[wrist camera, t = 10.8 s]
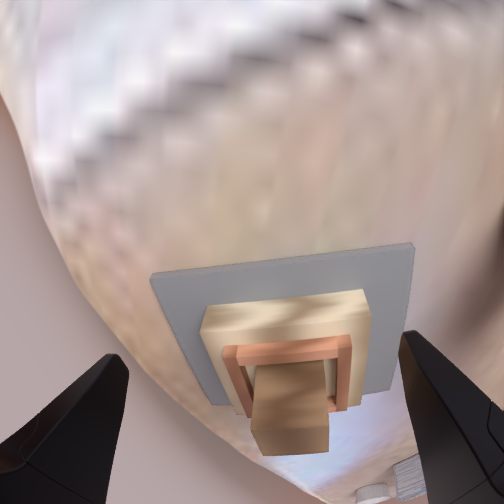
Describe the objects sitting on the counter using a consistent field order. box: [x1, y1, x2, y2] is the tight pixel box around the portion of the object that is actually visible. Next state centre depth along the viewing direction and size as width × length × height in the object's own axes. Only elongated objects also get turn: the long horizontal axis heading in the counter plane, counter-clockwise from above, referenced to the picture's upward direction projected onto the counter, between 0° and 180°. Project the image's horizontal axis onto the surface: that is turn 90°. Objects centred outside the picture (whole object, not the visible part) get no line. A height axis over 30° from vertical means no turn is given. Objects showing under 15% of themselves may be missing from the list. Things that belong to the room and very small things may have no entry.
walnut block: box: [251, 360, 329, 456], centre depth 21 cm, size 5×5×6 cm
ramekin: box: [355, 483, 390, 504], centre depth 52 cm, size 9×9×4 cm
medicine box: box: [393, 454, 427, 501], centre depth 39 cm, size 8×4×9 cm, turn 144°
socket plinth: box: [199, 289, 371, 418], centre depth 24 cm, size 12×12×4 cm
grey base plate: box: [149, 243, 415, 405], centre depth 26 cm, size 20×18×1 cm
